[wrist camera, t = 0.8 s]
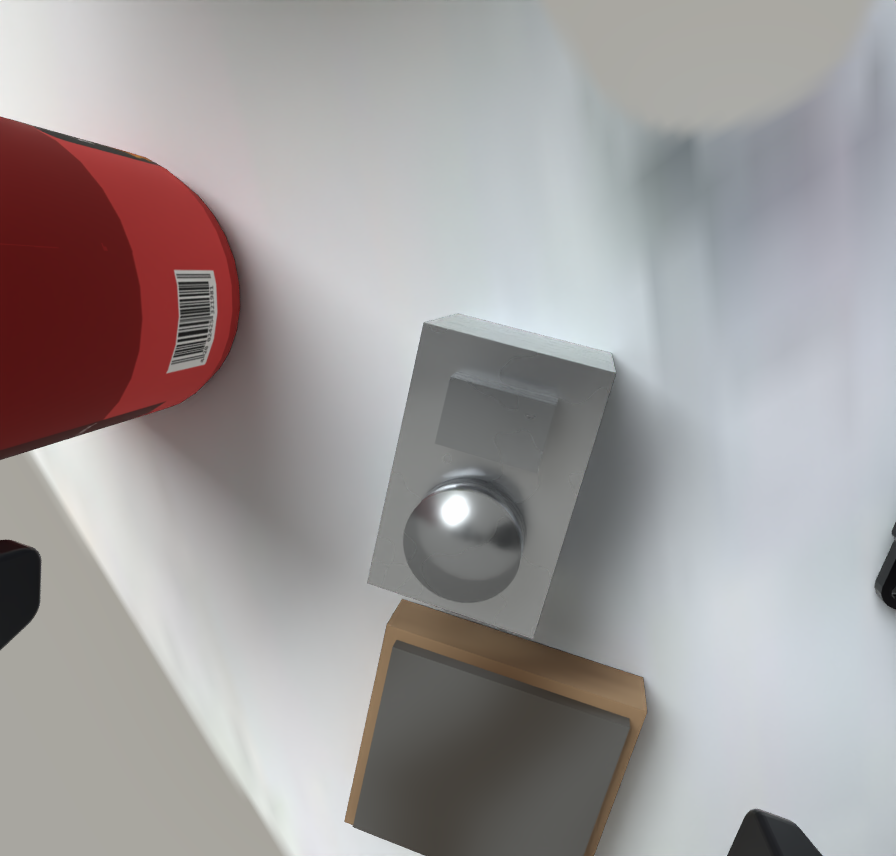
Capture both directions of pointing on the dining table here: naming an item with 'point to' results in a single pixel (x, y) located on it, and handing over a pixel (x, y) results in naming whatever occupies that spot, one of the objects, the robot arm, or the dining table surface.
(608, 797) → the stand
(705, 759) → the dining table surface
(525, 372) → the housing
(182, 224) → the canned food
